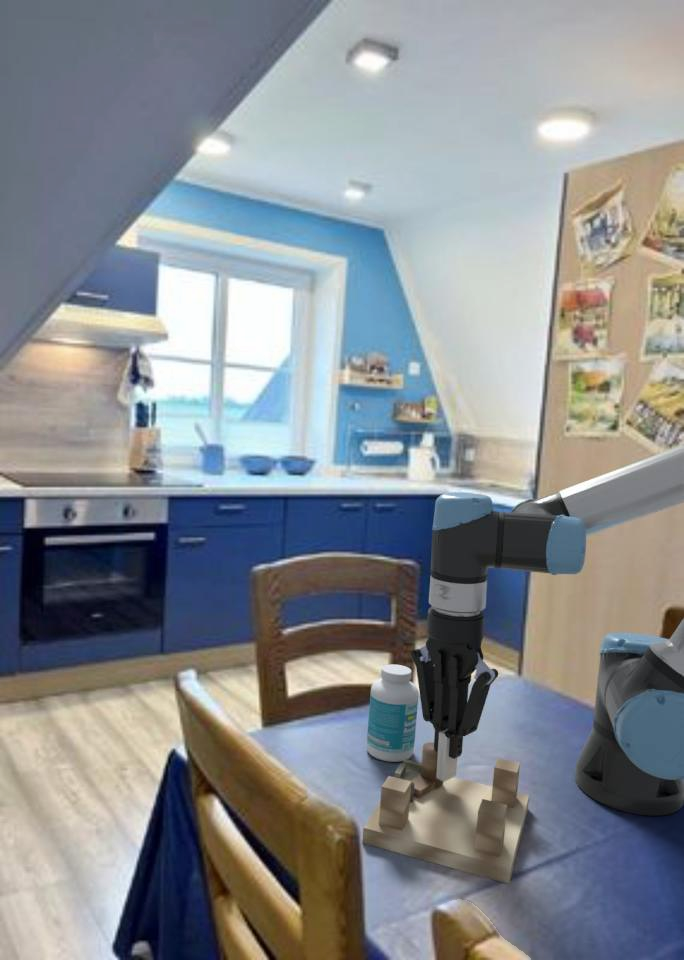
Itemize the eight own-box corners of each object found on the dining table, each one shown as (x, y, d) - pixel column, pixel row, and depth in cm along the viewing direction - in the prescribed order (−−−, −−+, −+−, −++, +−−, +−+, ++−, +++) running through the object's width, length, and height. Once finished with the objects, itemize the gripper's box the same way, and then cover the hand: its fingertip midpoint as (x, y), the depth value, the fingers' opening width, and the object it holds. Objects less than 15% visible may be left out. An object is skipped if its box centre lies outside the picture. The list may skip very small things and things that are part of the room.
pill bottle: (410, 767, 115) (417, 681, 113) (362, 759, 116) (368, 674, 115) (415, 746, 122) (422, 664, 120) (370, 738, 123) (376, 658, 122)
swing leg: (422, 798, 101) (425, 762, 101) (402, 789, 103) (405, 754, 103) (447, 782, 106) (450, 748, 106) (428, 773, 108) (431, 740, 108)
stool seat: (527, 809, 105) (532, 760, 104) (509, 883, 88) (514, 826, 87) (402, 778, 111) (405, 732, 110) (362, 842, 94) (366, 789, 93)
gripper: (401, 602, 103) (392, 768, 106) (481, 625, 95) (469, 805, 97) (434, 594, 109) (425, 751, 111) (513, 614, 100) (501, 785, 103)
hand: (446, 776), depth 104 cm, fingers closed
